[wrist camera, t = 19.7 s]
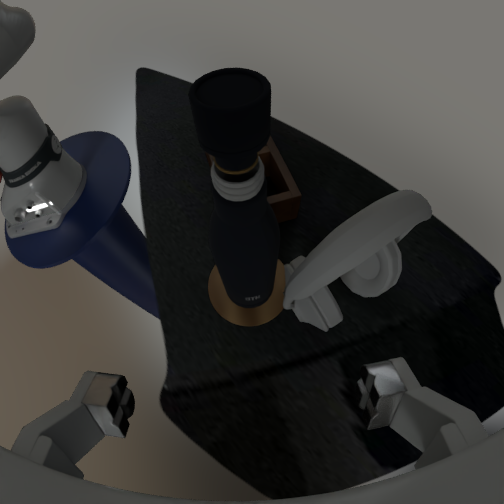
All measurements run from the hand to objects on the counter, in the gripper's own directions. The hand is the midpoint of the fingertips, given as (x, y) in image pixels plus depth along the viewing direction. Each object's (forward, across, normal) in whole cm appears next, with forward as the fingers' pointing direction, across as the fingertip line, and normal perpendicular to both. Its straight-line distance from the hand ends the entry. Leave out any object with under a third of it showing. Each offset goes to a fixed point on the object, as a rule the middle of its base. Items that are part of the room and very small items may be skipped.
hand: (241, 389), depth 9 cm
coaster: (+29, 0, +11) cm, 31 cm away
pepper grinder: (+28, 0, +11) cm, 31 cm away
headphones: (+28, -12, +12) cm, 33 cm away
